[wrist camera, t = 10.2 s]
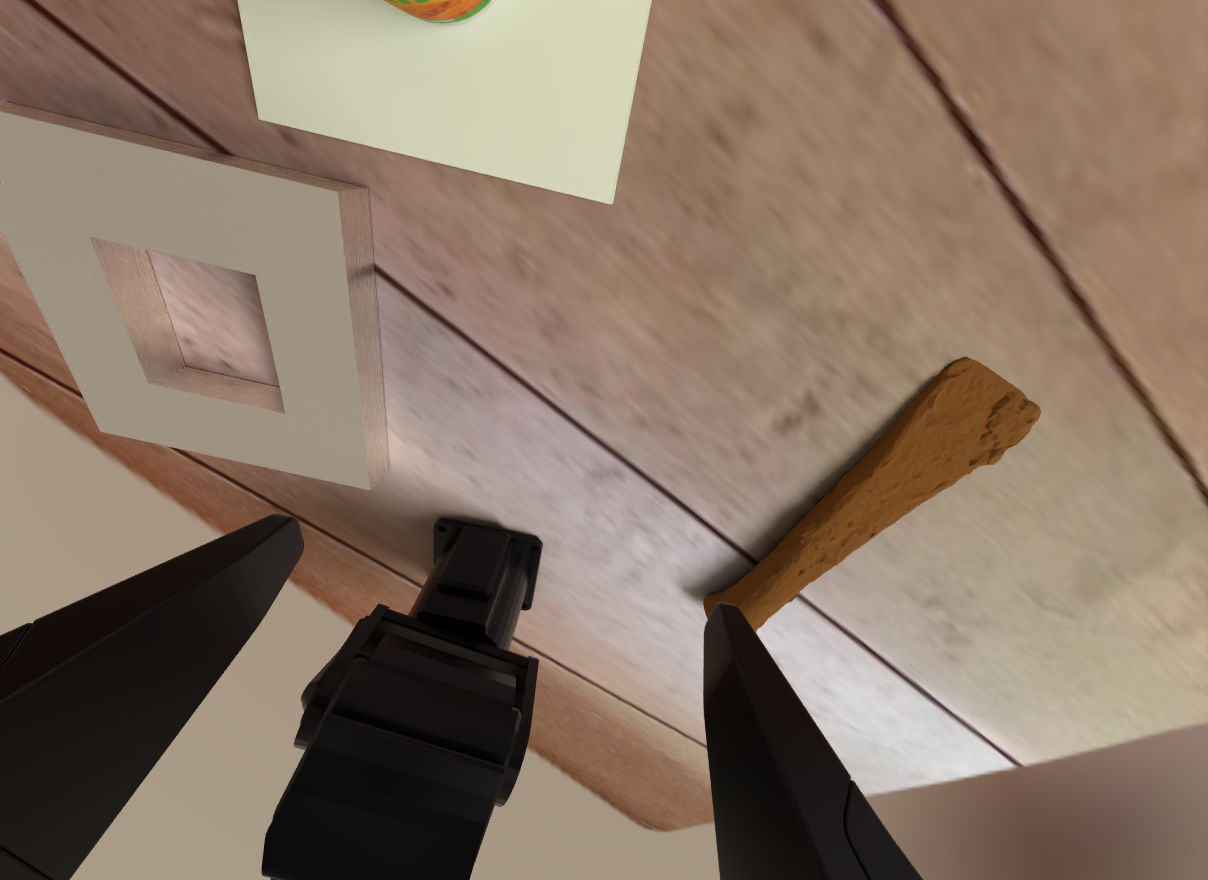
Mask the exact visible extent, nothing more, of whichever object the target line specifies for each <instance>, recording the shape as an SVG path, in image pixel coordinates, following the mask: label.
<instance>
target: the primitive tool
mask: <svg viewBox="0 0 1208 880" xmlns="http://www.w3.org/2000/svg"><path fill="white" fill-rule="evenodd" d="M1040 413H1041V410H1040V408H1039V406H1037V405H1036V404H1035V403H1034V402H1032V401H1029V400H1028V399H1027V398H1026V396H1025V395H1024V394H1023V393H1022V392H1021V391H1020V390H1019V389H1018V388H1016V387H1015V386H1013V385H1012V384H1010V383H1008V382H1007V381H1006V380H1004V379H1003V378H1002V377H1000V376H999V375H997V374H996V373H995V372H993V371H992V370H990V369H989V368H987V367H986V366H984V365H982V364H981V363H979V362H977V361H974V360H972V359H970V358H968V357H964V358H961V359H959V360H956V361H954V362H953V363H952V364H951V365H950V366H949V367H948V368H946V369H945V370H944V371H942V373H941V374H940V375H939V376H938V377H937V378H936V379H935V380H934V381H933V382H932V383H931V384H930V385H929V386H928V387H927V388H926V389H924V391H923V392H922V393H921V394H919V395H918V396H917V397H916V399H915V400H914V401H913V402H912V403H911V404H910V405H909V406H908V407H907V409H906V410H905V411H904V412H903V413H902V414H901V415H900V416H899V417H898V419H897V420H896V421H895V422H894V423H893V424H892V425H891V427H890V428H889V429H888V430H887V431H886V433H885V434H884V435H883V436H882V437H881V438H880V439H879V440H878V441H877V442H876V444H875V445H874V446H873V447H872V448H871V449H870V450H869V451H868V452H867V453H866V455H865V456H864V457H863V458H862V459H861V460H860V461H859V462H858V463H856V464H855V465H854V466H853V467H852V468H851V470H850V471H849V472H848V473H847V474H845V475H844V476H843V477H842V478H841V479H840V480H839V482H838V484H837V485H836V486H835V487H834V489H833V490H831V491H830V492H829V493H828V494H827V495H826V496H824V497H823V498H822V499H821V500H820V501H819V503H818V504H817V505H816V506H815V507H814V508H813V509H812V510H811V511H810V512H809V513H808V514H807V515H806V516H805V517H804V518H803V519H802V520H801V521H800V522H799V523H798V524H797V525H796V526H795V527H794V528H792V529H791V530H790V531H789V533H788V534H787V535H786V536H785V537H784V539H783V540H782V541H781V542H780V543H779V544H778V546H777V547H776V548H774V550H773V551H772V552H771V553H770V554H769V555H768V556H767V557H766V558H764V559H762V560H761V562H760V563H759V564H758V565H757V566H756V567H755V568H754V569H752V570H751V571H750V572H749V573H747V574H746V575H745V576H744V577H743V578H742V579H741V580H740V581H739V582H737V583H736V584H735V585H733V586H731V587H730V588H728V589H726V590H725V591H724V592H716V593H715V594H711V595H708V596H707V597H706V598H705V599H704V603H703V604H704V610H705V613H706V616H707V618H708V619H709V617H710V615H711V613H712V611H713V609H714V607H715V605H716V603H718V602H725V603H730V604H734V605H736V606H738V607H739V608H740V610H741V611H742V613H743V614H744V616H745V617H746V619H747V620H748V622H749V623H750V625H751V626H752V628H753V629H754V631H755V633H756V631H757V629H758V628H760V627H761V626H762V625H763V624H764V623H765V622H766V621H767V620H768V618H770V617H771V616H772V615H774V614H775V613H776V612H777V611H778V610H779V609H781V608H782V607H783V606H784V605H785V604H786V603H788V602H791V601H793V599H794V598H795V597H796V596H797V595H798V593H799V592H800V591H801V590H802V589H803V588H804V587H805V586H807V585H808V584H809V583H811V582H813V581H815V580H816V579H817V578H819V577H820V576H821V575H822V574H823V573H825V572H826V571H828V570H830V569H831V568H832V567H833V566H835V565H838V563H840V562H841V561H843V560H844V559H845V558H846V557H847V556H848V555H850V554H851V553H852V552H853V551H855V550H856V549H858V548H859V547H861V546H862V545H864V544H865V543H867V542H868V541H869V540H870V539H872V538H874V537H875V536H876V535H877V534H878V533H879V532H880V531H882V530H883V529H885V528H887V527H888V526H890V525H892V524H894V523H895V522H896V521H897V520H898V519H900V518H901V517H902V516H904V515H906V514H908V513H909V512H911V511H912V510H913V509H915V508H916V507H917V506H918V505H920V504H921V503H923V502H925V501H926V500H928V499H930V498H932V497H933V496H935V495H936V494H937V493H939V492H941V491H942V490H944V489H946V488H948V487H950V486H952V485H953V484H955V483H956V482H957V481H958V480H959V479H960V478H962V477H963V476H965V475H967V474H970V473H971V472H972V471H973V470H974V469H976V468H977V467H979V466H983V465H993V464H995V463H996V462H998V461H999V460H1000V459H1001V457H1002V456H1003V454H1004V453H1005V451H1006V450H1007V449H1008V448H1010V447H1012V446H1015V445H1017V444H1018V443H1019V442H1020V441H1021V440H1022V439H1023V438H1024V437H1025V436H1026V435H1027V434H1028V433H1029V432H1030V430H1031V427H1032V425H1033V424H1034V423H1035V422H1036V421H1038V419H1039V417H1040Z"/></svg>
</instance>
